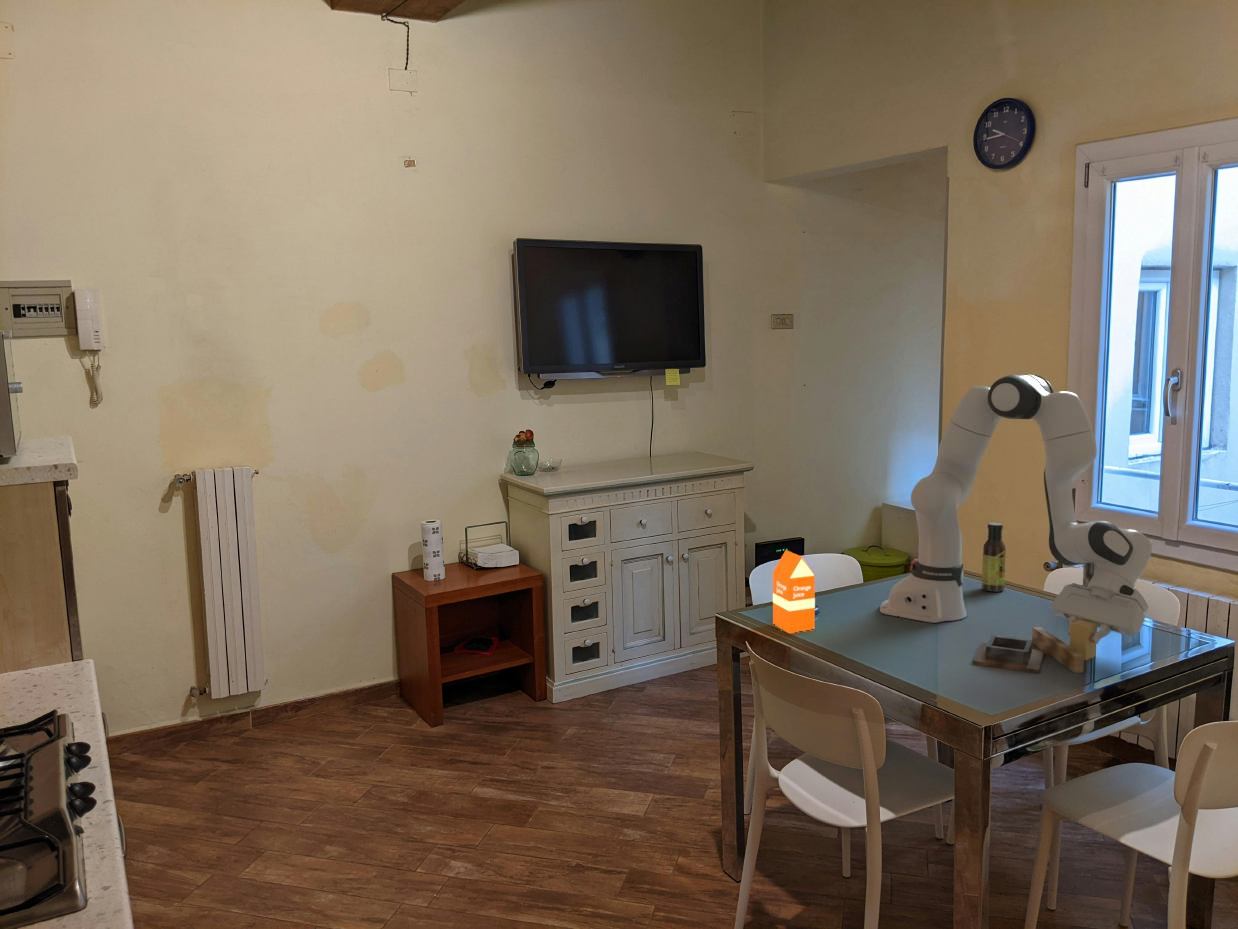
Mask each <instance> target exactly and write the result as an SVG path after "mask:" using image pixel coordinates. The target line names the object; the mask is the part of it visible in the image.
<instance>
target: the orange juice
mask: <svg viewBox="0 0 1238 929" xmlns="http://www.w3.org/2000/svg"><path fill="white" fill-rule="evenodd" d="M815 576H816V575H815V574H814V573H813V570H812V569H811V568H810V567H809V565H808V564H807V562H806V561H805V559H804V558H803V557H802V556H801V555H798V554H796V553H793V552H792V551H790V550H787V549H786V550H785V551H784V553H783V554H782V555H781V558H780V560H779V561H778V562H777V564H776V566H775V567H774V569H773V570H772V624H773V625H774V624H775V625H774V626H775V627H777V628H779V629H780V630H782V629H783V630H782V631H784V632H786V633H787V634H796V633H795V632H797V633H800V632H799V631H803V632H807V631H806V630H810V631H812V630H811V629H815V628H816V627H815V618H816V617H815V616H816V614H815V613H816V612H815V609H816V597H815V592H816V591H815V590H816V589H815V588H816V587H815V586H816V584H815V583H816V582H815Z"/></svg>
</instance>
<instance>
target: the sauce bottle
mask: <svg viewBox="0 0 1238 929" xmlns="http://www.w3.org/2000/svg"><path fill="white" fill-rule="evenodd" d="M1003 526H1004V525H1003V523H999V522H989V523H988V524H987V531H988V532H987V540H986V541H985V543H984V544H983V549H982V550H983V552H982V566H981V568H982V569H981V583H982V584H981V589H982V590H984V591H987V592H995V593H996V592H998V593H999V592H1001V591H1004V589H1005V583H1006V581H1005V580H1006V558H1007V555H1006V554H1007V552H1006V551H1007V549H1006V545H1005V544H1004V541H1003V540H1002V539H1003V536H1002V534H1003V528H1004V527H1003Z"/></svg>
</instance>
